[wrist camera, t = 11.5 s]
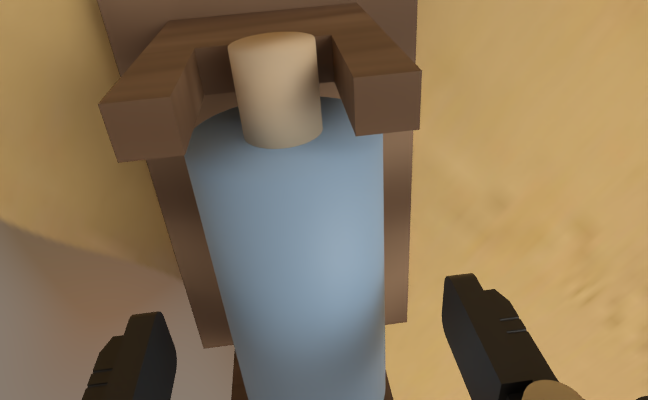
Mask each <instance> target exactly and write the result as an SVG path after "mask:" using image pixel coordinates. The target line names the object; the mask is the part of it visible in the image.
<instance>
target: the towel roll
mask: <svg viewBox="0 0 648 400" xmlns="http://www.w3.org/2000/svg"><path fill="white" fill-rule="evenodd" d="M228 53H229V59H230V64H231V70H232V75H233V81H234V86H235V92H236V97H237V103H238V106H237V107H234V108H231V109H228V110H226V111H223V112H221V113H219V114H216V115H214V116H212V117H210V118H209V119H207V120H205V121H204V122H202V123H201V124H199V125H198V126H197V127H195V128H194V129H193V132H192V135H191V138H190V141H189V145H188V148H187V151H186V154H185V155H184V157H185V161H186V165H187V169H188V173H189V176H190V180H191V184H192V188H193V191H194V195H195V199H196V203H197V207H198V210H199V214H200V218H201V222H202V226H203V229H204V233H205V237H206V241H207V245H208V248H209V252H210V256H211V260H212V264H213V267H214V271H215V275H216V279H217V283H218V286H219V290H220V294H221V298H222V302H223V305H224V309H225V313H226V317H227V321H228V324H229V328H230V332H231V336H232V340H233V343H234V347H235V351H236V355H237V359H238V362H239V366H240V370H241V374H242V378H243V381H244V385H245V389H246V393H247V397H248V400H384V396H385V287H384V191H383V134H374V135H365V136H355V133H354V131H353V128H352V126H351V123H350V121H349V118H348V115H347V113H346V110H345V108H344V105H343V103H342V100H341V99H338V98H331V97H320V90H319V78H318V66H317V54H316V42H315V37H314V36H313V35H311V34H307V33H302V32H272V33H264V34H258V35H253V36H248V37H245V38H241V39H239V40H236V41H234V42H232V43H231V44H229V45H228Z"/></svg>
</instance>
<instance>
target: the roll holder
mask: <svg viewBox="0 0 648 400" xmlns="http://www.w3.org/2000/svg"><path fill="white" fill-rule="evenodd" d="M97 2H98V5H99V8H100V12H101V15H102V18H103V21H104V25H105V28H106V31H107V34H108V38H109V41H110V44H111V47H112V51H113V54H114V57H115V60H116V64H117V67H118V70H119V74H120V77H121V78H120V79H119V80H118V81H117V82H116V84H115V85H114V86H113V87H112V88H111V89H110V91H109V92H108V93H107V94H106V95H105V96H104V98H103V99H102V100H101V101H100V102H99V104H98V106H99V109H100V112H101V115H102V118H103V120H104V123H105V126H106V129H107V132H108V135H109V138H110V141H111V144H112V147H113V150H114V152H115V155H116V158H117V161H118V163H119V162H128V161H138V160H146V162H147V165H148V168H149V171H150V175H151V178H152V181H153V184H154V188H155V191H156V194H157V197H158V201H159V204H160V207H161V210H162V214H163V217H164V220H165V224H166V227H167V230H168V233H169V237H170V240H171V243H172V246H173V250H174V253H175V256H176V259H177V263H178V266H179V269H180V272H181V276H182V279H183V282H184V285H185V289H186V292H187V295H188V299H189V302H190V305H191V308H192V312H193V315H194V318H195V321H196V324H197V328H198V331H199V334H200V337H201V340H202V344H203V347H204V348H211V347H220V346H227V345H234V343H233V340H232V336H231V332H230V328H229V324H228V321H227V317H226V313H225V309H224V305H223V302H222V298H221V294H220V290H219V286H218V283H217V279H216V275H215V271H214V267H213V264H212V260H211V256H210V252H209V248H208V245H207V241H206V237H205V233H204V229H203V226H202V222H201V218H200V214H199V210H198V207H197V203H196V199H195V195H194V191H193V188H192V184H191V180H190V176H189V173H188V169H187V165H186V161H185V157H184V155H185V154H186V151H187V148H188V145H189V141H190V138H191V135H192V132H193V129H194V128H195V127H197V126H198V125H199V124H201V123H202V122H204V121H205V120H207V119H209V118H210V117H212V116H214V115H216V114H219V113H221V112H223V111H226V110H228V109H231V108H234V107H237V106H238V103H237V97H236V92H235V86H234V81H233V75H232V70H231V64H230V59H229V53H228V45H229V44H231V43H232V42H234V41H236V40H239V39H241V38H245V37H248V36H253V35H258V34H264V33H272V32H302V33H307V34H311V35H313V36H314V37H315V42H316V54H317V66H318V78H319V90H320V97H331V98H338V99H341V100H342V103H343V105H344V108H345V110H346V113H347V115H348V118H349V121H350V123H351V126H352V128H353V131H354V133H355V136H365V135H374V134H383V191H384V287H385V325H388V324H395V323H403V322H407V303H408V273H409V242H410V212H411V182H412V151H413V130H419V128H420V103H421V79H422V70H421V69H420V68H419V67H418V66H417V65H416V64H415V60H416V30H417V0H97ZM231 400H248V397H247V393H246V389H245V385H244V381H243V378H242V374H241V370H240V366H239V362H238V359H237V355H236V351H235V354H234V369H233V384H232V397H231ZM384 400H393V397H392V393H391V389H390V385H389V381H388V378H387V374H386V370H385V396H384Z"/></svg>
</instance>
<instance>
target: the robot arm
mask: <svg viewBox="0 0 648 400" xmlns="http://www.w3.org/2000/svg"><path fill="white" fill-rule="evenodd" d="M442 323H443V328H444V332H445V335H446V338H447V341H448V343H449V345H450V348H451V350H452V353H453V355H454V358H455V360H456V363H457V365H458V367H459V370H460V372H461V375H462V377H463V380H464V382H465V384H466V387H467V389H468V392H469V394H470V397H471V399H472V400H584V399H583V398H582V397H581V396H580V395H579V394H578V393H577V392H576V391H575V390H573V389H572V388H570V387H569V386H567V385H565V384H563V383H560V382H559V381H558V380H557V378H556V377H555V375H554V374H553V372H552V370H551V369H550V367H549V365H548V364H547V362H546V360H545V359H544V357H543V356H542V354H541V352H540V351H539V349H538V347H537V346H536V344H535V342H534V341H533V339H532V337H531V336H530V334H529V332H527V331H526V327H525V326H524V324H523V323H522V321H521V319H519V316H518V314H517V313H516V311H515V309H514V308H513V306H512V304H511V303H510V301H509V300H507V299H506V298H505V297H504V296H502V295H501V294H500V293H499V292H497V291H496V290H495V289H491V290H484V291H483V289H482V287H481V285H480V283H479V282H478V280H477V278H476V276H475V275H474V274H473V273H469V274H461V275H453V276H446V278H445V282H444V294H443V306H442ZM176 365H177V357H176V350H175V347H174V344H173V341H172V338H171V335H170V333H169V330H168V327H167V325H166V322H165V319H164V316H163V314H162V313H161V312H151V313H143V314H136V315H132V316H131V317H130V319H129V321H128V324H127V327H126V331H125V333H124V335H122V336H115V337H112V339H111V340H110V341H109V342H108V344H107V345H106V346H105V347H104V348H103V349H102V351H101V352H100V353H99V356H98V358H97V361H96V364H95V367H94V369H93V374H91V377H90V379H89V382H88V388H87V389H86V390H85V393H84V395H83V398H82V400H170V398H171V393H172V388H173V383H174V378H175V373H176ZM636 400H648V396H644V397H640V398H638V399H636Z"/></svg>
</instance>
